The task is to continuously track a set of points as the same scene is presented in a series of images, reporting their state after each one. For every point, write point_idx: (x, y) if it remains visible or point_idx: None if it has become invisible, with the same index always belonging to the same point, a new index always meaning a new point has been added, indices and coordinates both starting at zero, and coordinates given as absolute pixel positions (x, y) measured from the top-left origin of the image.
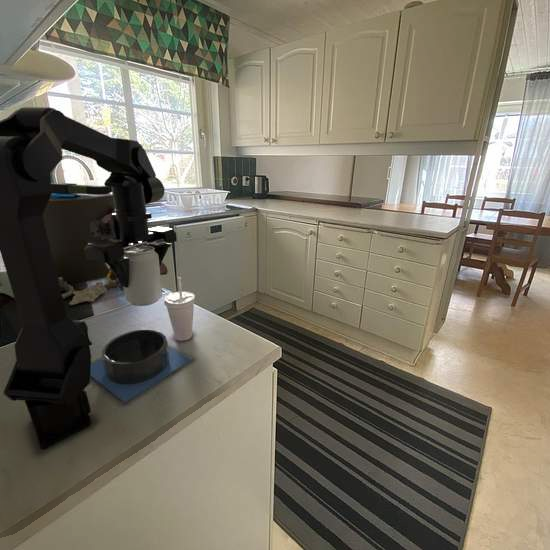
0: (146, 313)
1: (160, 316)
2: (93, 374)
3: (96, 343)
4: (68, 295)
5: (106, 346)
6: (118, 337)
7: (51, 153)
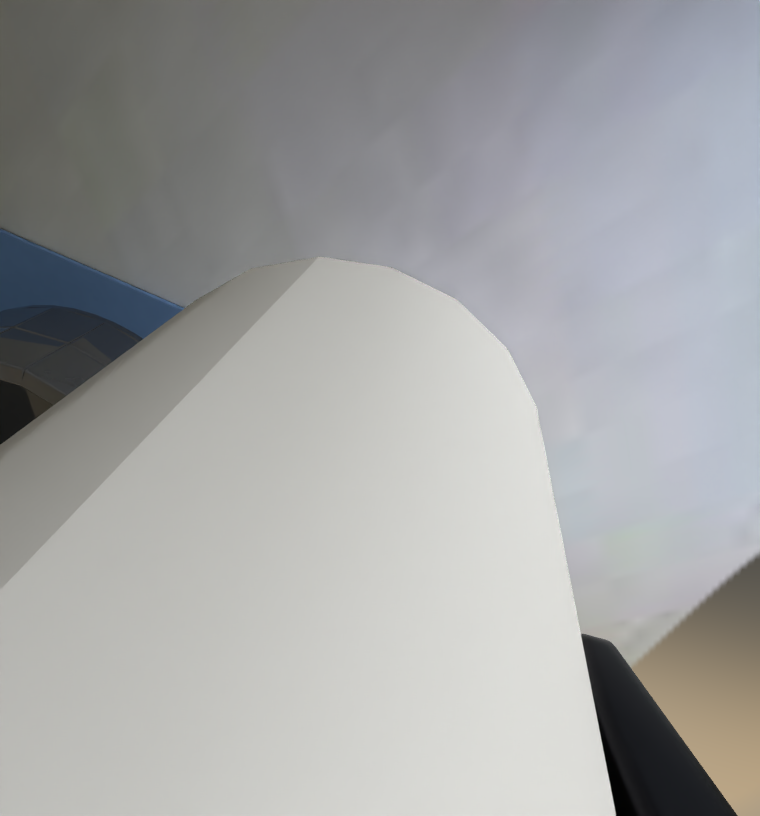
0: (667, 127)
1: (622, 292)
2: None
3: (121, 39)
4: None
5: None
6: (5, 380)
7: None
